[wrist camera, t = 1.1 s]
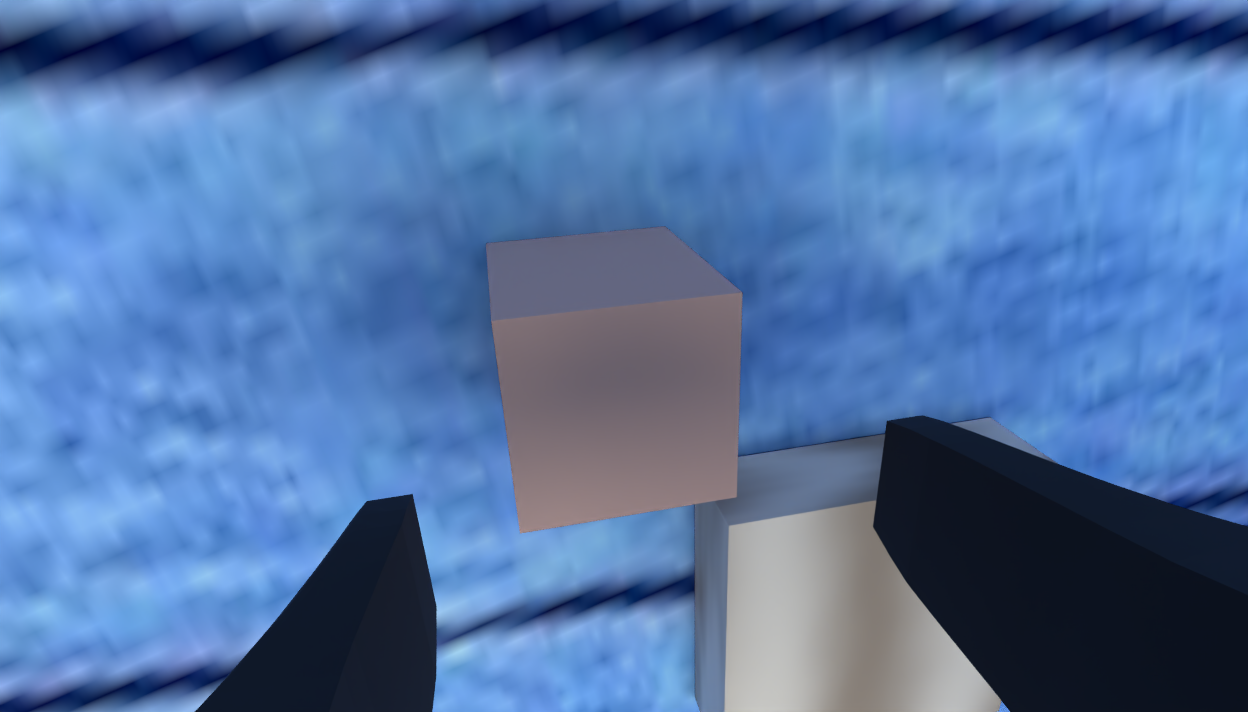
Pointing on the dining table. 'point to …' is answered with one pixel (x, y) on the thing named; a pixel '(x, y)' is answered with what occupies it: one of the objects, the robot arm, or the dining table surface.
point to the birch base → (819, 594)
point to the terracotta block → (615, 374)
